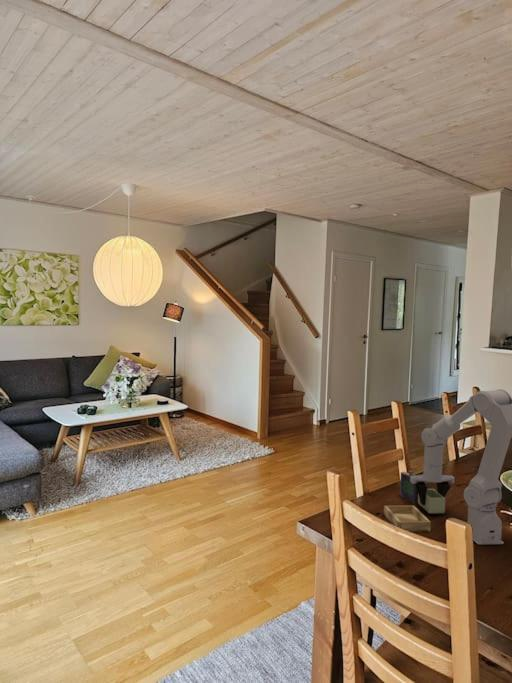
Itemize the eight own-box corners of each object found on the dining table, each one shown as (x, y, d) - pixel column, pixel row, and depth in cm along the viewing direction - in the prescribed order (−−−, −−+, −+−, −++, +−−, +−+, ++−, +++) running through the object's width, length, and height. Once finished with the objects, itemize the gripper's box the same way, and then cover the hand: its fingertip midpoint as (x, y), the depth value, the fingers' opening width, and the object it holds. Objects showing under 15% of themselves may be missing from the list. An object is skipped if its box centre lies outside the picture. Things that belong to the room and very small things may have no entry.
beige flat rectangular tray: (430, 531, 137) (431, 522, 137) (398, 532, 136) (399, 522, 136) (413, 514, 149) (413, 505, 149) (383, 514, 148) (384, 505, 148)
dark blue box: (397, 495, 164) (399, 466, 164) (404, 494, 165) (405, 465, 165) (416, 506, 156) (418, 475, 155) (423, 504, 157) (424, 474, 156)
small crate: (444, 513, 148) (445, 498, 148) (428, 513, 148) (429, 498, 147) (432, 503, 156) (433, 488, 156) (417, 503, 156) (418, 488, 155)
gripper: (447, 459, 156) (445, 498, 156) (406, 460, 154) (405, 499, 155) (458, 466, 149) (456, 507, 149) (416, 467, 147) (414, 507, 148)
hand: (431, 503), depth 152 cm, fingers closed on small crate, 5 cm apart
